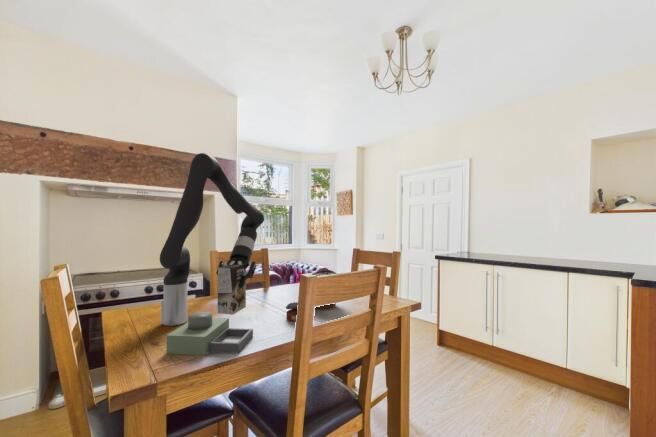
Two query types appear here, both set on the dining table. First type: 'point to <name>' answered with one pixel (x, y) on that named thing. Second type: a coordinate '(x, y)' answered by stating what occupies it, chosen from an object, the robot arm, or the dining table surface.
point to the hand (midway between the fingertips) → (230, 286)
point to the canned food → (292, 311)
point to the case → (325, 272)
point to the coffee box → (231, 289)
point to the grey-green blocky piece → (207, 336)
